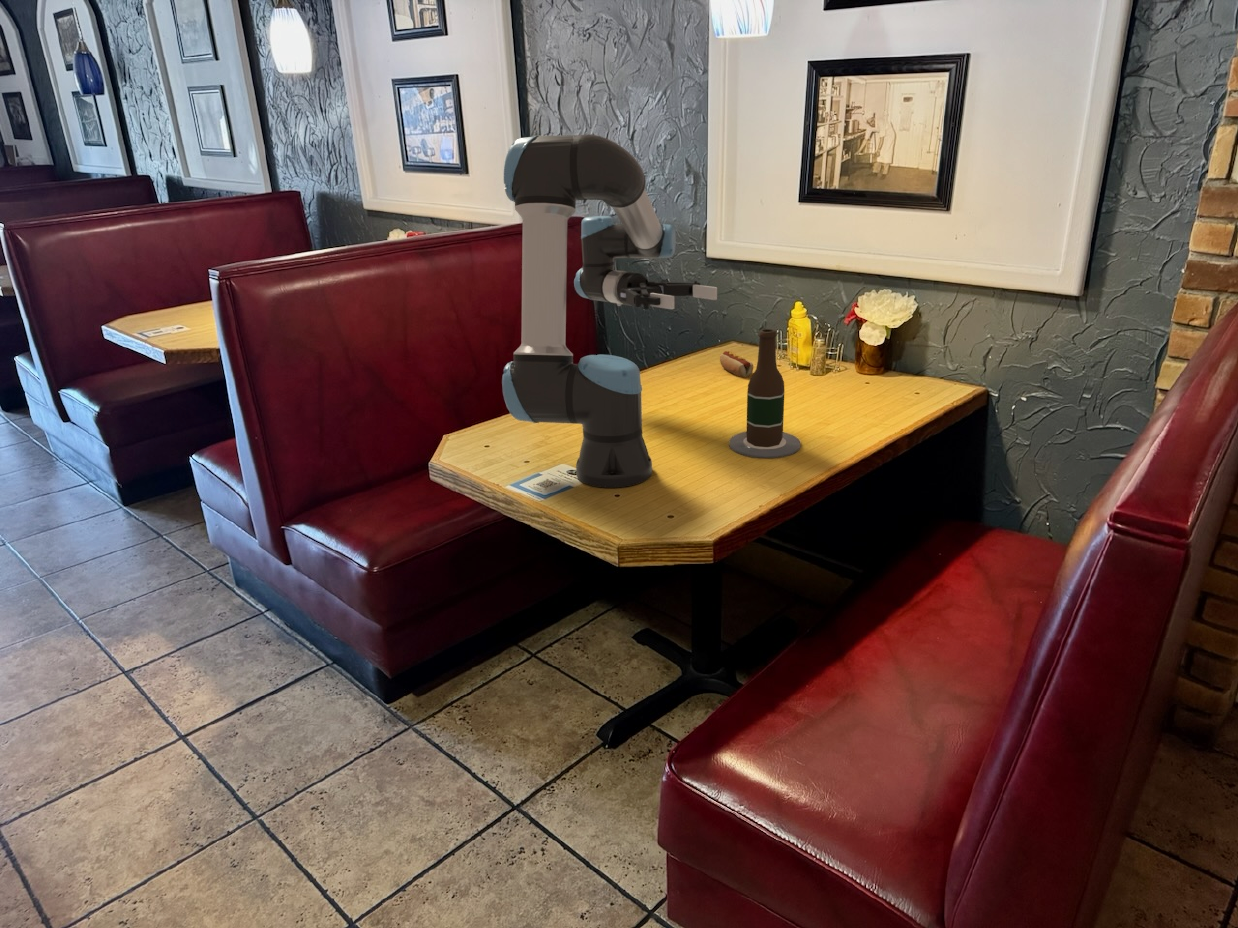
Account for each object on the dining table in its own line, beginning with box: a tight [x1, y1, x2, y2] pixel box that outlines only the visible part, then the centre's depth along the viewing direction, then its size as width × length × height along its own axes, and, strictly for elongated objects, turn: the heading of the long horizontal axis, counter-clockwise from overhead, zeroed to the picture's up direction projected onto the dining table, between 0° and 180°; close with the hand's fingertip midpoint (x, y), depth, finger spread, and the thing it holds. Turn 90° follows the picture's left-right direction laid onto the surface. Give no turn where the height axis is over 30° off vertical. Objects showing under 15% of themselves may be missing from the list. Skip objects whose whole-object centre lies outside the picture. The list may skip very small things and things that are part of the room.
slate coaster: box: [728, 430, 801, 459], centre depth 180 cm, size 15×15×1 cm
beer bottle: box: [746, 328, 785, 447], centre depth 175 cm, size 8×8×24 cm
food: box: [719, 350, 754, 378], centre depth 233 cm, size 14×6×5 cm, turn 20°
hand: (695, 298), depth 181 cm, fingers open, 13 cm apart
